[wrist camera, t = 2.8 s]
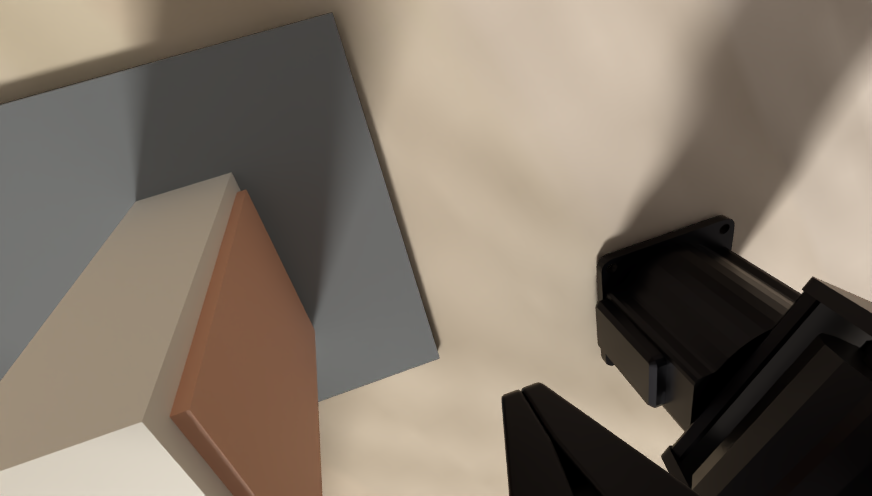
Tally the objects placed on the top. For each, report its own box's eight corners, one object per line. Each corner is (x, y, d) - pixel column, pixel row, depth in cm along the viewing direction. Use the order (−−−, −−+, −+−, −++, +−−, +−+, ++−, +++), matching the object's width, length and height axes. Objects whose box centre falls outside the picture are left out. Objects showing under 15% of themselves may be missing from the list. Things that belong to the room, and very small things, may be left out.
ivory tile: (240, 169, 15) (164, 414, 6) (319, 331, 19) (335, 624, 10) (135, 201, 15) (-93, 503, 6) (236, 360, 18) (181, 686, 10)
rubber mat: (331, 12, 14) (332, 13, 13) (437, 352, 21) (439, 358, 21) (-394, 213, 12) (-414, 220, 12) (-3, 509, 19) (-9, 518, 19)
